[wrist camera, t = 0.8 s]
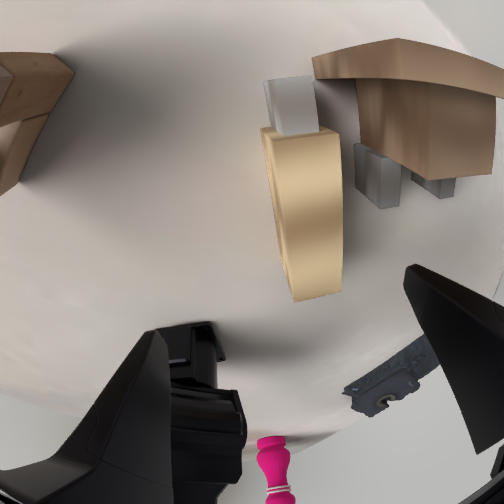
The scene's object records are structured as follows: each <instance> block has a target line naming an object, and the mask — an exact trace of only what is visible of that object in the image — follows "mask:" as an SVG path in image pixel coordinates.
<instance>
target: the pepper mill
mask: <svg viewBox="0 0 504 504" xmlns="http://www.w3.org/2000/svg"><path fill="white" fill-rule="evenodd" d="M285 445H286V442H285V438H284V437H282V436H271V437H265V438H262V439H259V440H258V441H257V448H258V449H259V450H260V452H259V453H258V454H257V462H258V464H259V466H260V467H261V469H262V470H263V472H264V473H265V475H266V478H267V482H268V488H267V489H266V490H267V494H269V496H268V498H267V499H266V504H295V497H294V495H292V494H291V493H290V492H289V491H291V489H290V485H288V483H287V478H286V474H287V468H288V465H289V462H290V452H289V451H288V450H287V449H286V448H284V446H285Z"/></svg>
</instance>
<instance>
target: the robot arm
mask: <svg viewBox="0 0 504 504" xmlns="http://www.w3.org/2000/svg"><path fill="white" fill-rule="evenodd" d="M403 287H404V290H405V293H406V295H407V297H408V299H409V301H410V304H411V306H412V308H413V310H414V313H415V315H416V317H417V320H418V322H419V324H420V326H421V328H422V330H423V332H424V333H425V335H426V337H427V339H428V341H429V343H430V345H431V347H432V349H433V351H434V353H435V355H436V357H437V359H438V361H439V363H440V365H441V367H442V369H443V371H444V373H445V375H446V377H447V380H448V382H449V384H450V386H451V388H452V391H453V393H454V395H455V398H456V400H457V403H458V405H459V407H460V410H461V411H462V412H461V413H462V415H463V418H464V421H465V423H466V426H467V428H468V431H469V434H470V437H471V440H472V443H473V445H474V449H475V452H476V454H479V453H481V452H483V451H485V450H486V449H488V448H489V447H491V446H493V445H494V444H496V443H497V442H499V441H500V440H502V439H503V438H504V307H503V306H501V305H499V304H497V303H496V302H494V301H493V302H492V300H490V299H488V298H486V297H484V296H482V295H480V294H478V293H476V292H474V291H472V290H470V289H468V288H466V287H464V286H462V285H460V284H458V283H456V282H454V281H452V280H450V279H448V278H446V277H444V276H442V275H440V274H438V273H436V272H433V271H431V270H429V269H427V268H425V267H423V266H420V265H418V264H413V265H410V266H408V267H407V268H406V270H405V277H404V282H403ZM225 360H226V356H225V353H224V351H223V349H222V347H221V344H220V342H219V340H218V338H217V335H216V333H215V331H214V328H213V326H212V324H211V323H210V322H203V323H197V324H190V325H184V326H177V327H170V328H163V329H156V330H150V331H146V332H145V333H144V334H143V335H142V336H141V338H140V339H139V341H138V342H137V343H136V345H135V346H134V347H133V349H132V350H131V351H130V353H129V354H128V356H127V357H126V358H125V360H124V361H123V362H122V364H121V365H120V367H119V368H118V369H117V371H116V372H115V374H114V375H113V376H112V378H111V379H110V381H109V382H108V384H107V385H106V386H105V388H104V389H103V391H102V392H101V394H100V395H99V396H98V398H97V399H96V401H95V402H94V404H93V405H92V407H91V408H90V409H89V411H88V412H87V414H86V415H85V417H84V418H83V419H82V421H81V422H80V423H79V425H78V426H77V427H76V429H75V430H74V431H73V432H72V434H71V435H70V436H69V437H68V439H67V440H66V441H65V442H64V444H63V445H62V446H61V447H60V448H59V450H58V451H57V452H56V453H55V454H54V455H53V456H51V457H50V458H48V459H46V460H43V461H40V462H37V463H33V464H30V465H26V466H23V467H19V468H16V469H12V470H4V471H3V470H0V490H1V491H2V492H4V493H5V494H7V495H8V496H7V495H5V494H3V493H1V492H0V504H217V498H218V496H219V495H220V494H221V493H222V492H223V490H224V489H225V488H226V486H227V485H228V484H236V483H237V482H238V480H239V478H240V477H241V475H242V449H243V448H244V446H245V444H246V439H247V423H246V419H245V415H244V412H243V408H242V405H241V402H240V398H239V395H238V391H237V390H232V389H231V390H224V389H218V387H217V362H221V361H225ZM490 475H491V478H492V480H491V481H489V482H488V483H487V484H485V485H484V486H483V487H481V488H480V489H479V490H477V491H476V492H475V493H473V494H472V495H471V496H469V497H467V498H466V499H464V500H463V501H461V502H460V503H459V504H504V444H503V445H502V446H501V447H500V448H499V450H498V454H497V457H496V460H495V463H494V466H493V469H492V472H491V474H490ZM9 496H10V497H9Z"/></svg>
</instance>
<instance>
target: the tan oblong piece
mask: <svg viewBox="0 0 504 504" xmlns="http://www.w3.org/2000/svg"><path fill="white" fill-rule="evenodd" d="M264 88H265V93H266V99H267V104H268V110H269V116H270V122H271V127H267V128H261V129H260V130H261V136H262V142H263V147H264V153H265V159H266V165H267V171H268V177H269V184H270V190H271V196H272V203H273V209H274V216H275V222H276V229H277V236H278V243H279V250H280V257H281V263H282V266H283V269H284V272H285V275H286V278H287V281H288V284H289V288H290V291H291V294H292V297H293V300H294V303H295V302H299V301H304V300H308V299H312V298H317V297H321V296H325V295H329V294H334V293H338V292H341V287H342V263H343V193H342V169H341V152H340V139H339V133H337V132H335V131H332V130H330V129H328V128H325V127H323V126H320V125H319V123H318V115H317V107H316V100H315V93H314V86H313V79H312V76H302V77H290V78H281V79H273V80H269V81H264Z"/></svg>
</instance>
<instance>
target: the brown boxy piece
mask: <svg viewBox="0 0 504 504" xmlns="http://www.w3.org/2000/svg"><path fill="white" fill-rule="evenodd" d="M312 62H313V68H314V74H315V79H336V78H355V81H356V90H357V99H358V109H359V121H360V136H361V144H354V157H355V188H357V189H358V190H359V191H360V192H361V193H362V194H364V195H365V196H366V197H367V198H368V199H369V200H370V201H371V202H373V203H374V204H375V205H376V206H377V207H378V208H379V209H385V208H390V207H396V206H399V202H400V188H401V165H403V166H405V167H406V168H408V169H410V170H412V178H411V180H412V181H414V182H416V183H417V184H419V185H420V186H422V187H423V188H425V189H426V190H428V191H429V192H431V193H432V194H433V195H435V196H436V197H438V198H439V199H443V198H449V197H453V196H454V189H455V181H456V177H465V176H476V175H487V174H492V167H493V158H494V146H495V129H496V97H499V98H502V99H504V69H502V68H499V67H497V66H495V65H492V64H490V63H487V62H485V61H482V60H479V59H477V58H474V57H471V56H468V55H465V54H462V53H459V52H456V51H452V50H449V49H445V48H442V47H438V46H434V45H430V44H425V43H421V42H416V41H411V40H406V39H400V38H395V39H389V40H383V41H377V42H372V43H367V44H362V45H358V46H354V47H349V48H345V49H341V50H337V51H334V52H330V53H326V54H323V55H319V56H316V57H313V58H312Z"/></svg>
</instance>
